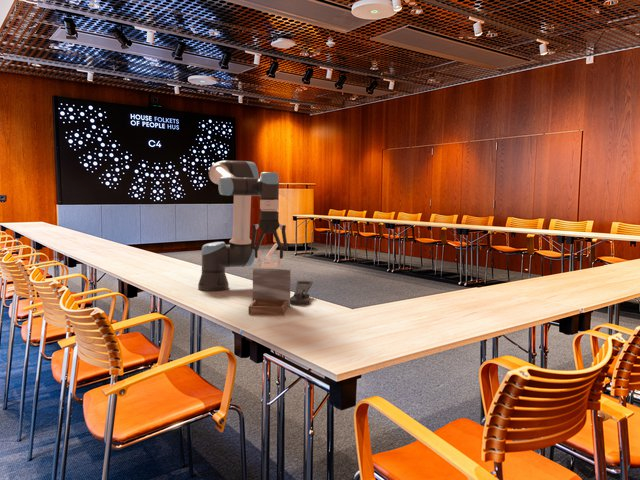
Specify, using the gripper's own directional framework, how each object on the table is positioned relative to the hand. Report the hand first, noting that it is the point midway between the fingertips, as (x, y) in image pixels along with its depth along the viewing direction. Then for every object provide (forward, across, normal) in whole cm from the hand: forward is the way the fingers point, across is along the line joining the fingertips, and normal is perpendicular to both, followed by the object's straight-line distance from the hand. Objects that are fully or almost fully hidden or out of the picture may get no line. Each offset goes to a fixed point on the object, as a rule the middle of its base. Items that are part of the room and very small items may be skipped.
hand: (268, 266), depth 197 cm
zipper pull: (+19, +12, +24) cm, 33 cm away
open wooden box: (+19, 0, +2) cm, 19 cm away
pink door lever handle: (0, 0, 0) cm, 0 cm away
